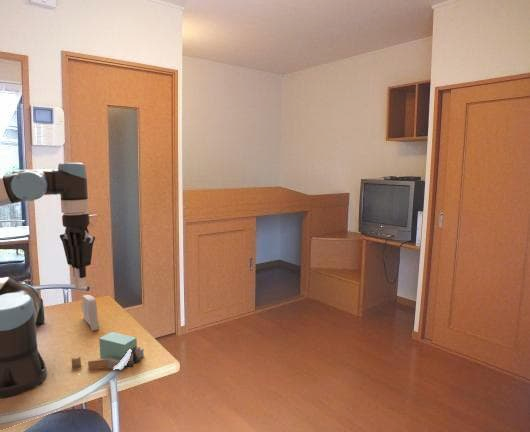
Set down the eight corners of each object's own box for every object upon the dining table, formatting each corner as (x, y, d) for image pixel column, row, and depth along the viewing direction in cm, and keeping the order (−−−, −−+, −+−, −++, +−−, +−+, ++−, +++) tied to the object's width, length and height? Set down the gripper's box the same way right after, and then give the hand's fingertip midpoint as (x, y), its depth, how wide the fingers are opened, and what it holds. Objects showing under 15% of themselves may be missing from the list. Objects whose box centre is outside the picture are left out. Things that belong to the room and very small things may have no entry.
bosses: (130, 368, 114) (129, 355, 114) (125, 366, 115) (124, 354, 115) (142, 360, 119) (141, 348, 118) (137, 359, 120) (136, 346, 119)
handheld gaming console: (90, 321, 153) (99, 329, 141) (82, 322, 152) (91, 331, 139) (88, 292, 153) (96, 298, 141) (80, 294, 151) (88, 300, 139)
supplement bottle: (49, 320, 149) (46, 289, 147) (36, 327, 142) (34, 295, 140) (32, 319, 150) (29, 289, 148) (19, 326, 143) (16, 295, 141)
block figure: (108, 378, 109) (108, 370, 109) (70, 366, 115) (69, 359, 115) (153, 349, 126) (152, 342, 125) (117, 340, 132) (117, 334, 131)
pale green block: (125, 367, 115) (124, 344, 114) (100, 359, 120) (99, 338, 119) (137, 359, 120) (136, 337, 119) (113, 352, 124) (111, 331, 123)
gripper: (100, 212, 121) (105, 286, 125) (71, 210, 127) (76, 281, 130) (80, 216, 114) (85, 293, 118) (49, 213, 120) (55, 287, 123)
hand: (80, 287), depth 124 cm, fingers closed
